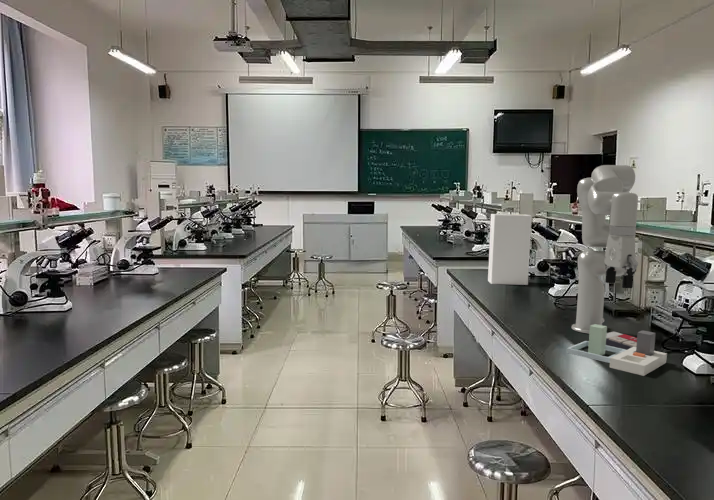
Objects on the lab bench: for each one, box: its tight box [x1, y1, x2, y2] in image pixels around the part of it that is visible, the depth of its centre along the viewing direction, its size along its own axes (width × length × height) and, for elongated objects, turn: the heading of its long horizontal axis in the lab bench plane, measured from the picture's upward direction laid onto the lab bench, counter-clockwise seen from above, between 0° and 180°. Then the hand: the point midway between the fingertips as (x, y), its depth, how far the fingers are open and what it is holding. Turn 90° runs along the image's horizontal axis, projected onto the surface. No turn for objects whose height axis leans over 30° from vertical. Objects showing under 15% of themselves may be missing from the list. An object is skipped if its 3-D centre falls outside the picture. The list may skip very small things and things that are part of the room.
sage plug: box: [587, 324, 608, 356], centre depth 185 cm, size 4×4×10 cm
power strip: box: [609, 347, 668, 377], centre depth 174 cm, size 19×10×5 cm, turn 133°
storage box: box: [487, 213, 533, 286], centre depth 324 cm, size 21×10×40 cm, turn 88°
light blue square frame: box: [566, 340, 626, 364], centre depth 186 cm, size 14×14×2 cm
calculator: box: [606, 331, 637, 350], centre depth 197 cm, size 11×4×15 cm
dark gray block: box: [636, 329, 656, 356], centre depth 177 cm, size 4×4×10 cm
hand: (618, 285), depth 178 cm, fingers open, 9 cm apart
